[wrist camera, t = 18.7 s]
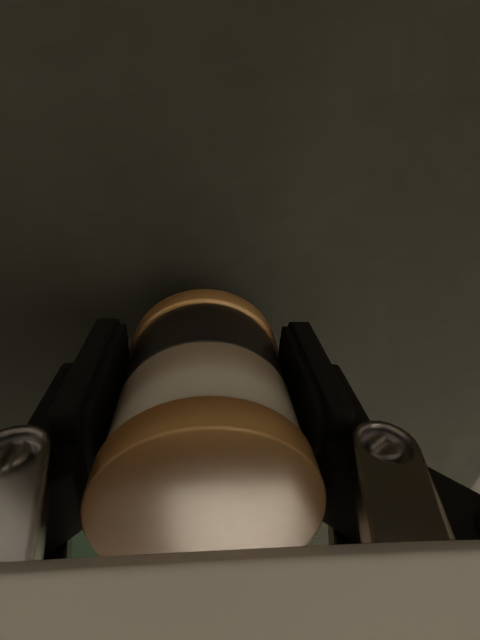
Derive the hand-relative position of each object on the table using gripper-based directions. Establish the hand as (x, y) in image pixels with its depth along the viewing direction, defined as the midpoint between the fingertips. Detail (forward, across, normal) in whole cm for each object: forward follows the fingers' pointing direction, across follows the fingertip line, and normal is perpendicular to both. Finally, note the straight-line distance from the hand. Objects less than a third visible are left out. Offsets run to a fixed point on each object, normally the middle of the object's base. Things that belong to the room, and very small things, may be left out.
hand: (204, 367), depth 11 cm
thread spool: (+1, 0, 0) cm, 1 cm away
